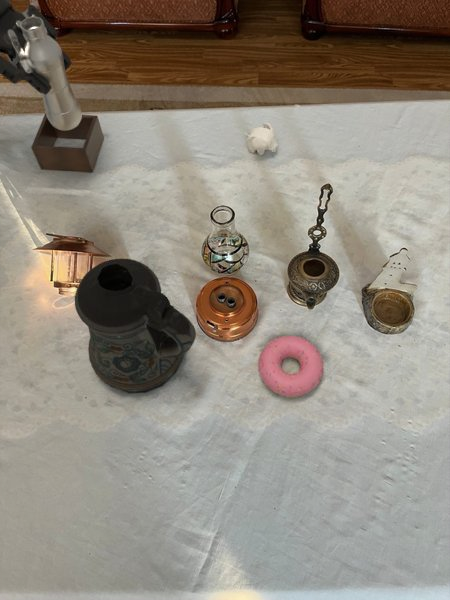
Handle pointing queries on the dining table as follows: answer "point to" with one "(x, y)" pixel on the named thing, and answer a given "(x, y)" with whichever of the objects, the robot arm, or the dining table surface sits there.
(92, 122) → the crate
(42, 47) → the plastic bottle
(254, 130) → the elephant figurine
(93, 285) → the dark ceramic jug
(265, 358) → the doughnut
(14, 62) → the robot arm
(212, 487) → the dining table surface
